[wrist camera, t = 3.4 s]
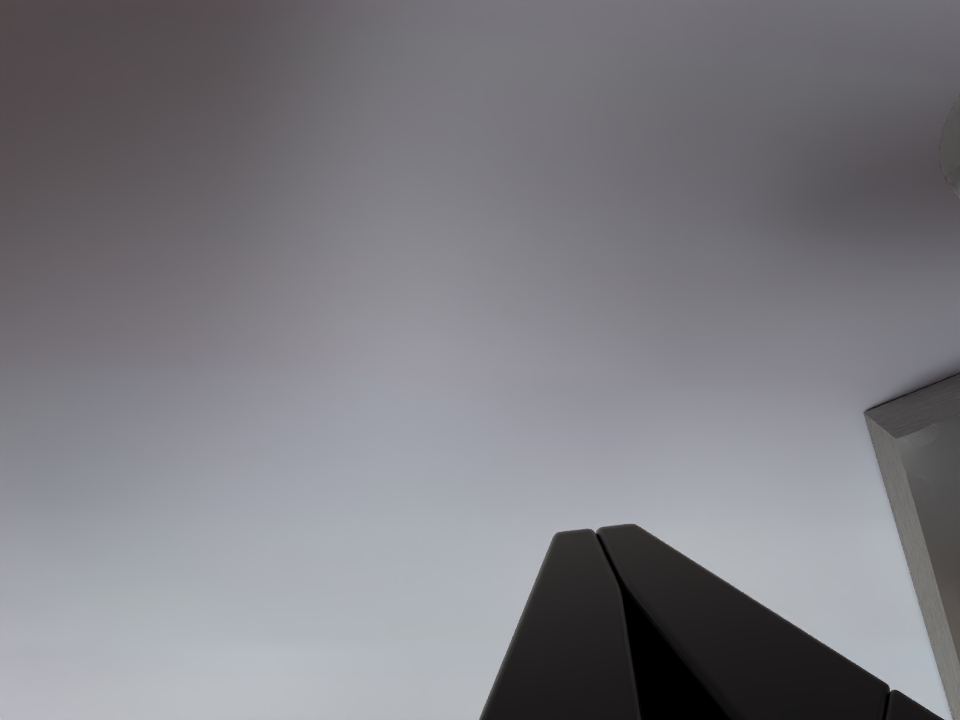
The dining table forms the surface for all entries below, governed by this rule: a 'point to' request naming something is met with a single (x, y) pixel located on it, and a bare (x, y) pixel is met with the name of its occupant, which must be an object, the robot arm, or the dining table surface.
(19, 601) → the dining table surface
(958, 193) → the elbow
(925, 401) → the flange plate
